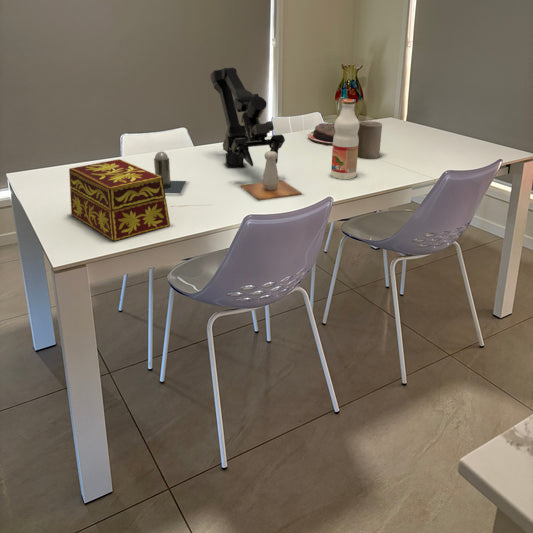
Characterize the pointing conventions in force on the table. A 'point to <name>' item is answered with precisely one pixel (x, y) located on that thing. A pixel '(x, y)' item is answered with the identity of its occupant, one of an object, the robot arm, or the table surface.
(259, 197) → the oak board
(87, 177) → the decorative box
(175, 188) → the slate mat
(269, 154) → the salt shaker
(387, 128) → the table surface
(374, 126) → the pillar candle
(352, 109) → the fruit juice
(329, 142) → the chocolate cake
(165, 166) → the pepper shaker
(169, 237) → the table surface
